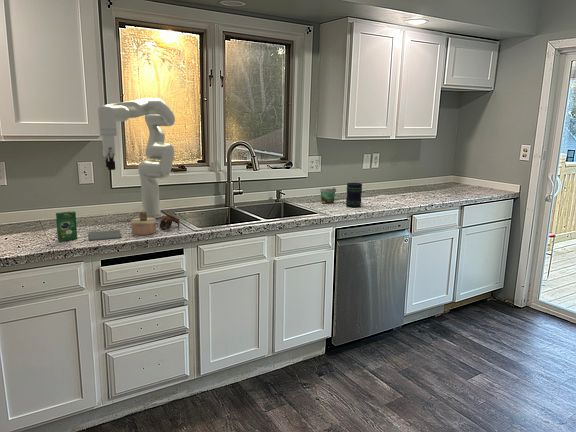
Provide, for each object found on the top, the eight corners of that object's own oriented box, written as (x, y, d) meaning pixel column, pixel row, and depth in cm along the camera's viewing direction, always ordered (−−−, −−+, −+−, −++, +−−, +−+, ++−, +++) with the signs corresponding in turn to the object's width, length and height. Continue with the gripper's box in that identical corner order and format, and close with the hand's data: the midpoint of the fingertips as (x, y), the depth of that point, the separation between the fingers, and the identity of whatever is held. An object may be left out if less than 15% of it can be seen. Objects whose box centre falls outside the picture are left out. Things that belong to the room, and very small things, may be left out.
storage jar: (343, 205, 301) (344, 183, 298) (355, 204, 305) (357, 182, 302) (350, 208, 292) (352, 185, 289) (364, 207, 296) (365, 184, 293)
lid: (129, 220, 228) (129, 210, 227) (154, 218, 233) (153, 208, 232) (132, 226, 217) (131, 215, 216) (158, 224, 222) (157, 213, 221)
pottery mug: (158, 227, 238) (165, 213, 239) (175, 234, 240) (181, 220, 241) (157, 227, 227) (164, 212, 228) (174, 235, 229) (182, 220, 230)
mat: (88, 233, 222) (88, 232, 222) (119, 230, 228) (119, 229, 228) (89, 240, 210) (89, 239, 210) (121, 238, 215) (121, 236, 215)
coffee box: (75, 237, 215) (73, 210, 212) (78, 238, 213) (75, 211, 210) (57, 240, 209) (54, 212, 206) (59, 242, 207) (57, 213, 204)
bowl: (131, 230, 229) (130, 220, 228) (154, 228, 233) (153, 219, 232) (133, 236, 219) (133, 226, 218) (157, 234, 223) (156, 224, 222)
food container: (325, 205, 301) (326, 190, 299) (319, 203, 306) (320, 188, 304) (339, 203, 308) (340, 188, 306) (333, 201, 313) (334, 187, 311)
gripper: (98, 131, 223) (100, 166, 227) (101, 133, 208) (104, 171, 212) (114, 131, 226) (117, 166, 230) (118, 133, 211) (121, 170, 215)
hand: (110, 168), depth 221 cm, fingers open, 9 cm apart
